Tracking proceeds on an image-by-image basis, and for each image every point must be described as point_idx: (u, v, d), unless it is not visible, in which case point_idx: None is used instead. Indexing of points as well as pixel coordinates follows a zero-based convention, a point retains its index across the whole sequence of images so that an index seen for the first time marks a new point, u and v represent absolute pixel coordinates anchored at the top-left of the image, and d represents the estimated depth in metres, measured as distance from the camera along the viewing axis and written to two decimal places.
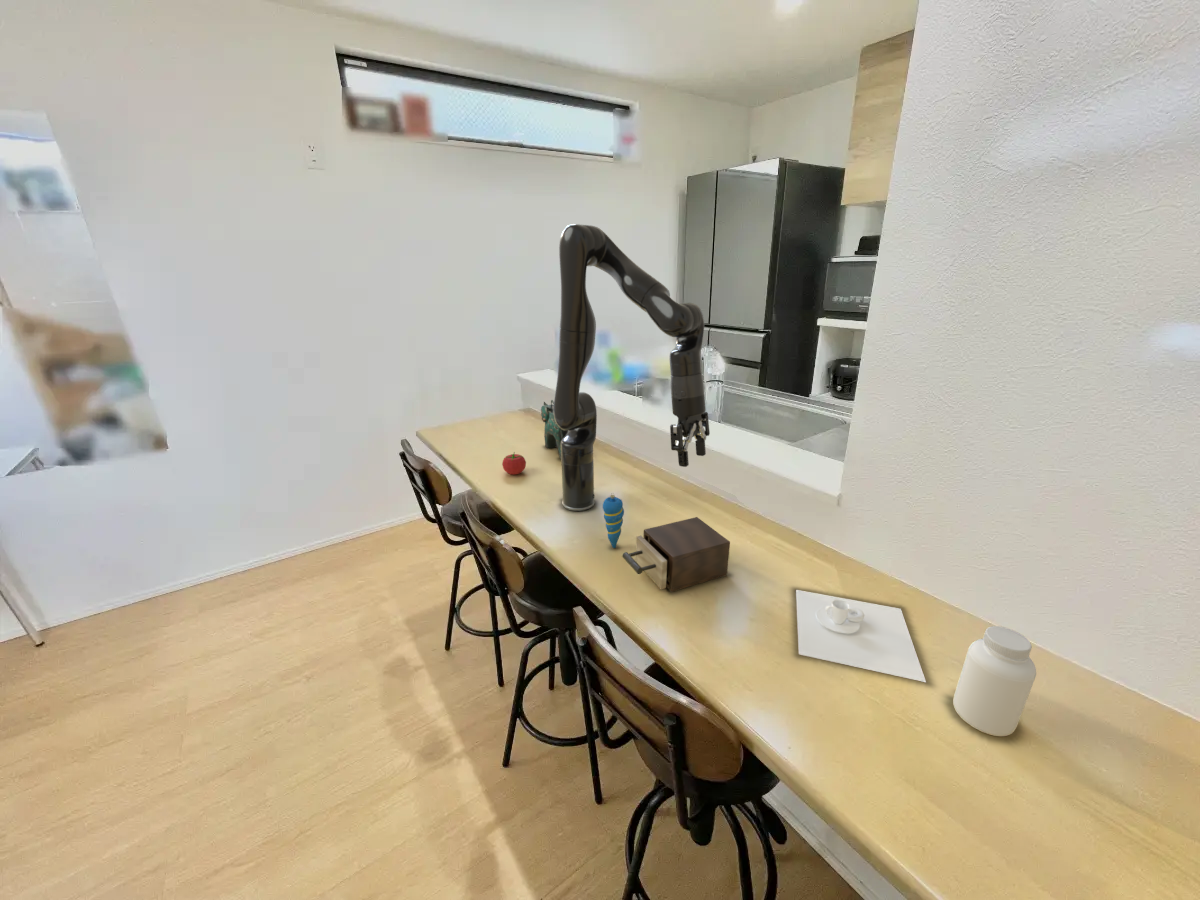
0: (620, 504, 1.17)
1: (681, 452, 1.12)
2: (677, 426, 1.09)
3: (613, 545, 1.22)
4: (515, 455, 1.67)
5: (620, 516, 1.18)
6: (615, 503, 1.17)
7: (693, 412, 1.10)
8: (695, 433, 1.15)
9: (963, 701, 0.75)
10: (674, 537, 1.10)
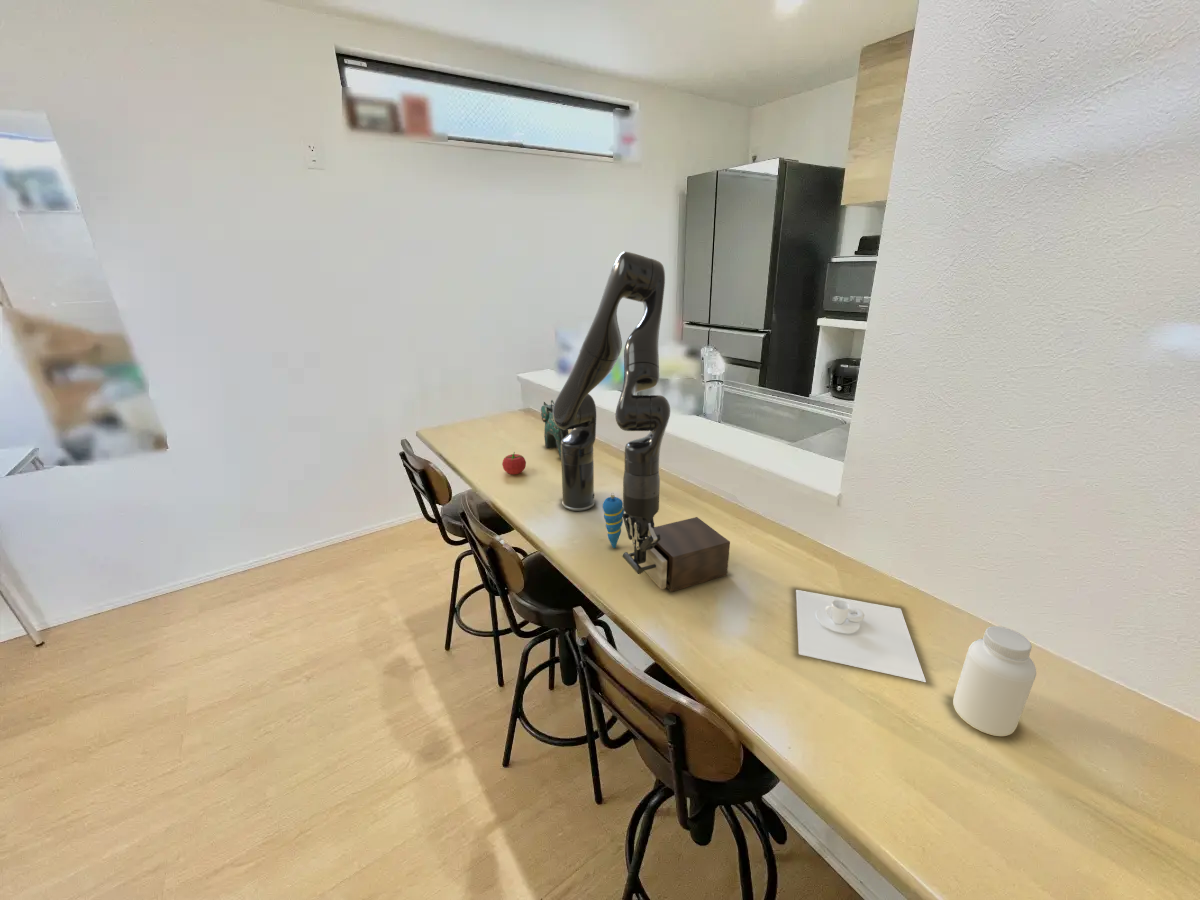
0: (620, 504, 1.17)
1: None
2: None
3: (613, 545, 1.22)
4: (515, 455, 1.67)
5: (620, 516, 1.18)
6: (615, 503, 1.17)
7: None
8: None
9: (963, 701, 0.75)
10: (674, 537, 1.10)
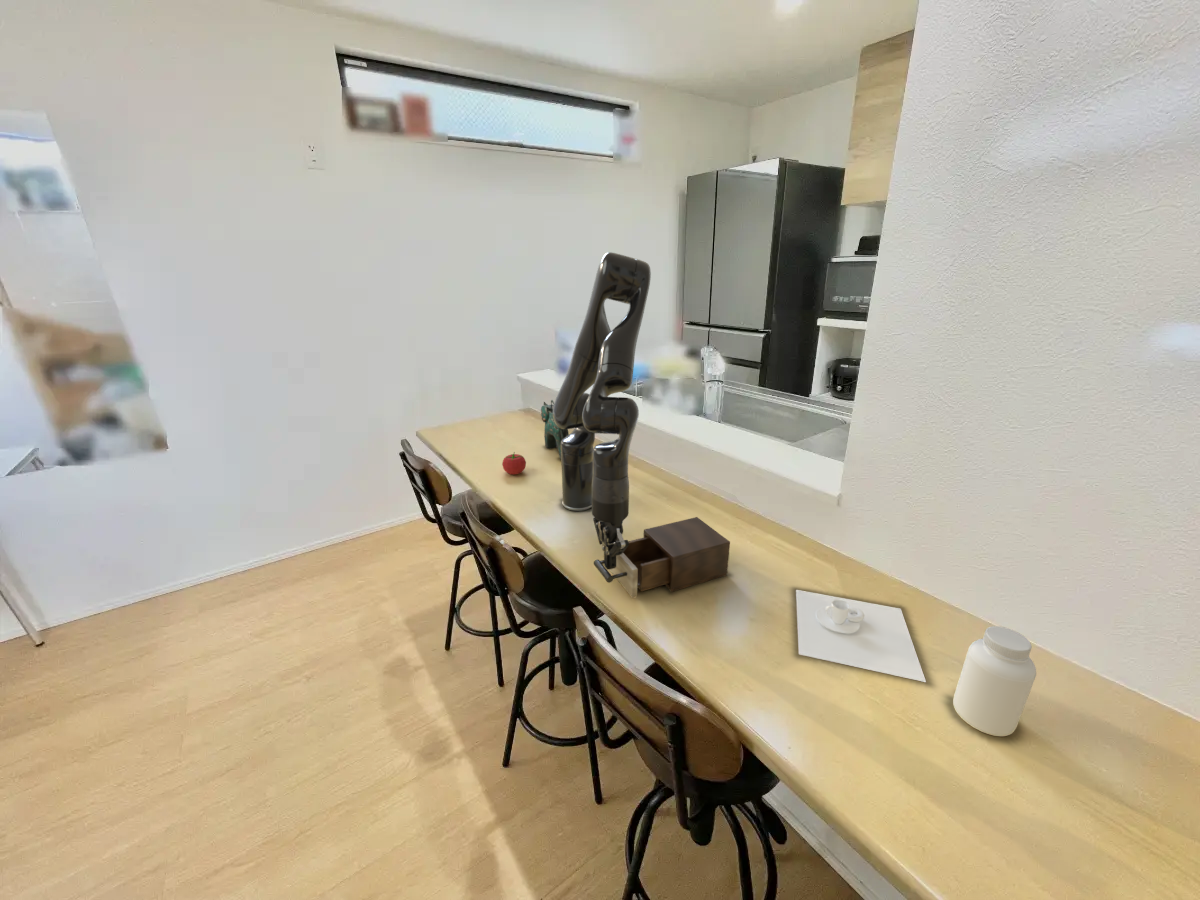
0: None
1: None
2: None
3: None
4: (515, 455, 1.67)
5: None
6: None
7: None
8: None
9: (963, 701, 0.75)
10: (674, 537, 1.10)
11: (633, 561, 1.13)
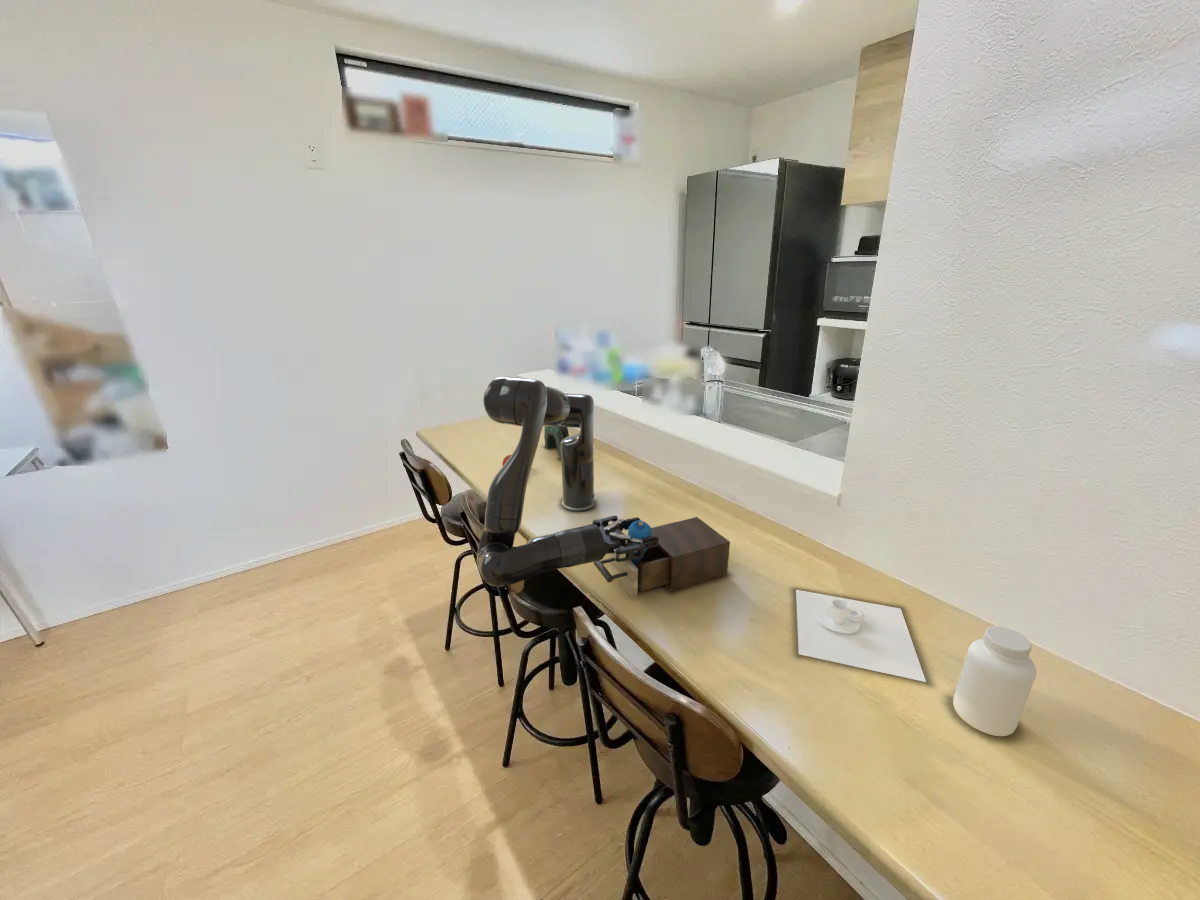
0: (649, 534, 1.02)
1: None
2: None
3: None
4: None
5: None
6: (643, 533, 1.01)
7: None
8: None
9: (963, 701, 0.75)
10: (674, 537, 1.10)
11: None
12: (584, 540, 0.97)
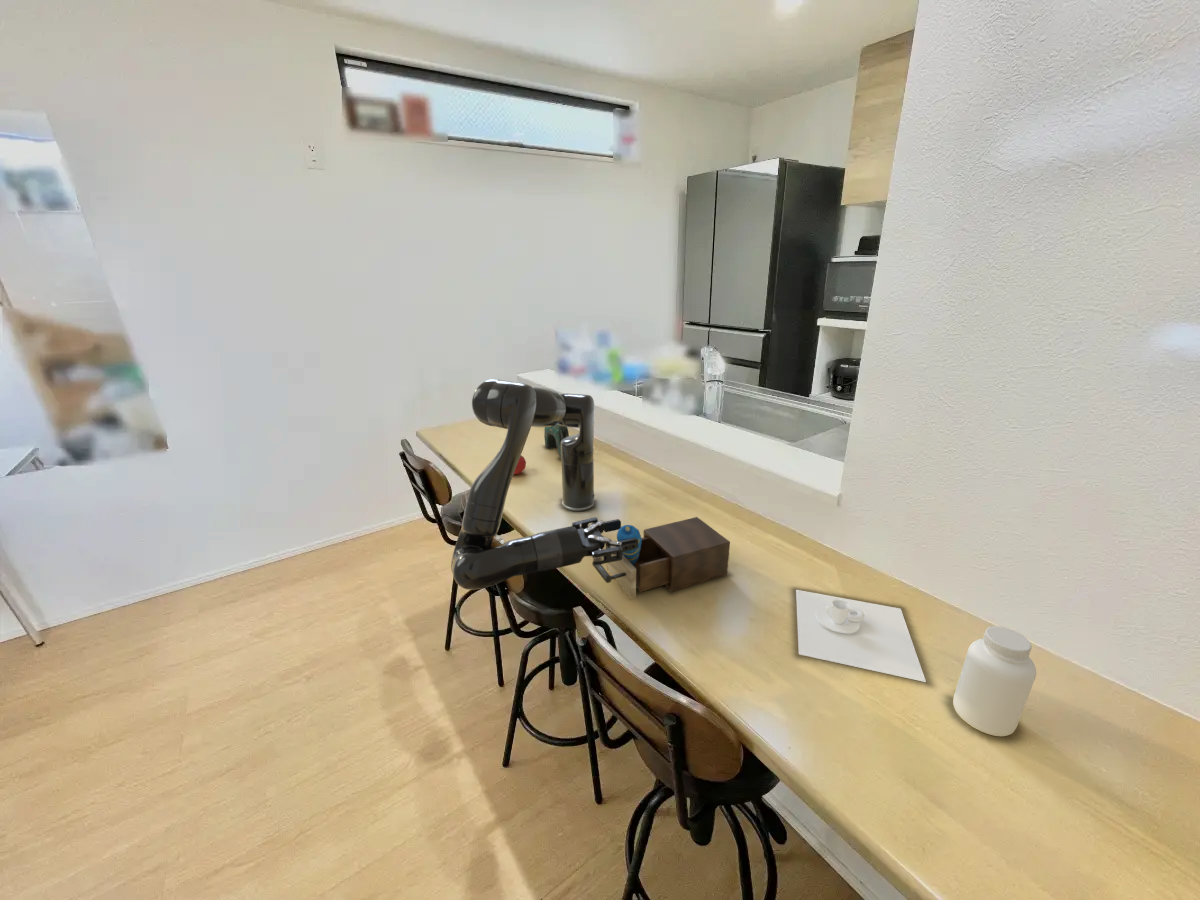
0: (637, 538, 1.01)
1: None
2: None
3: None
4: None
5: (637, 548, 1.03)
6: None
7: None
8: None
9: (963, 701, 0.75)
10: (674, 537, 1.10)
11: None
12: (561, 543, 0.95)
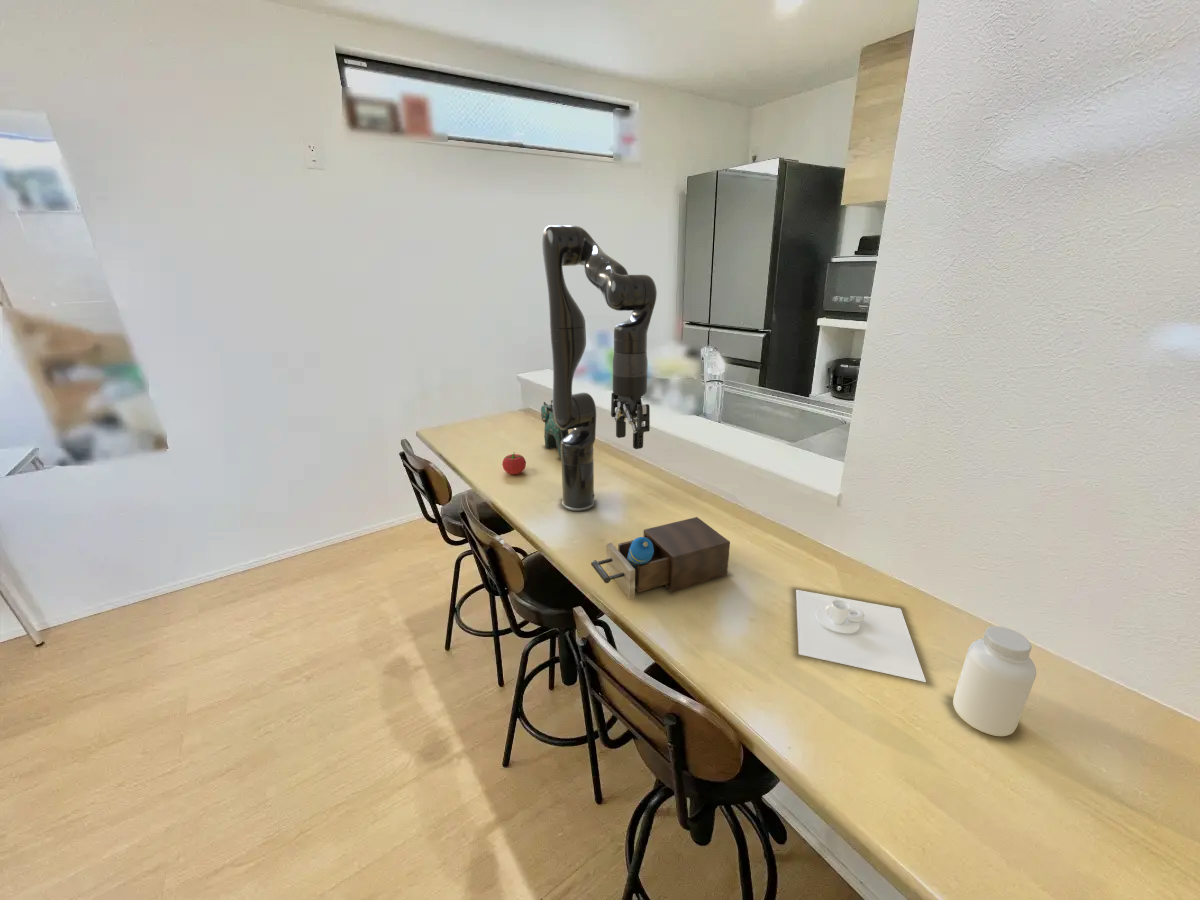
0: (647, 558, 0.99)
1: None
2: None
3: None
4: (515, 455, 1.67)
5: (642, 563, 1.02)
6: (642, 554, 0.99)
7: None
8: (625, 415, 1.09)
9: (963, 701, 0.75)
10: (674, 537, 1.10)
11: None
12: (646, 375, 1.06)
